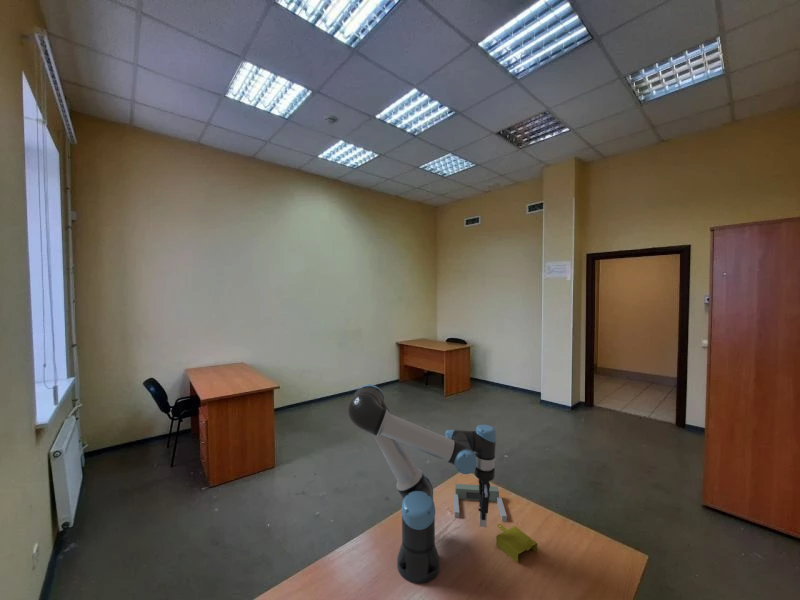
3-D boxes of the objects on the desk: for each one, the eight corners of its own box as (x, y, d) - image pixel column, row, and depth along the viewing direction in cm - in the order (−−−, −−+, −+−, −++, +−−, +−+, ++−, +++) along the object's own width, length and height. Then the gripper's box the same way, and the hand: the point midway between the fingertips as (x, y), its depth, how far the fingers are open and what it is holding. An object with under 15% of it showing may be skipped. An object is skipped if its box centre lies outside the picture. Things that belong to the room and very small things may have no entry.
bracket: (511, 509, 137) (542, 532, 124) (511, 527, 137) (542, 552, 124) (483, 522, 129) (514, 548, 116) (483, 541, 130) (514, 569, 117)
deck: (454, 517, 144) (454, 503, 143) (453, 493, 160) (453, 481, 160) (506, 521, 141) (506, 507, 141) (499, 496, 158) (499, 484, 158)
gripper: (497, 476, 122) (495, 539, 122) (491, 458, 135) (489, 515, 135) (476, 474, 123) (474, 536, 123) (473, 457, 135) (471, 513, 136)
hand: (482, 525), depth 129 cm, fingers closed
